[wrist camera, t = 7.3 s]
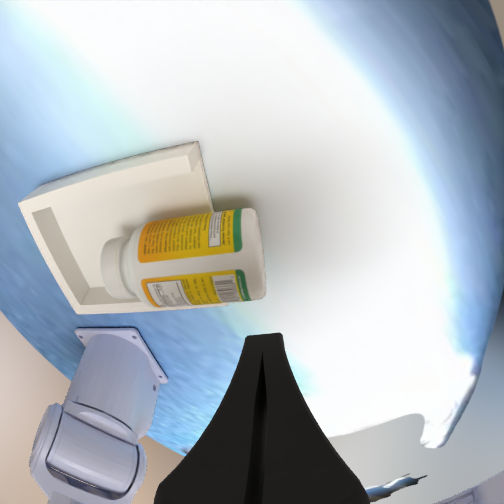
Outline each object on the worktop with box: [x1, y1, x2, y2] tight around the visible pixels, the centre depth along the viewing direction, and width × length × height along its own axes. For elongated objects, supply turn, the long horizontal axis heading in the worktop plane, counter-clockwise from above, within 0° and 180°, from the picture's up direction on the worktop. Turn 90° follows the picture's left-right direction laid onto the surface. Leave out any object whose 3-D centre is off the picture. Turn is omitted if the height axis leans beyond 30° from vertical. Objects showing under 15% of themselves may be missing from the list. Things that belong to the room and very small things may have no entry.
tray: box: [18, 141, 228, 314], centre depth 20 cm, size 11×13×3 cm
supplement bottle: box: [100, 208, 266, 308], centre depth 18 cm, size 5×5×10 cm
